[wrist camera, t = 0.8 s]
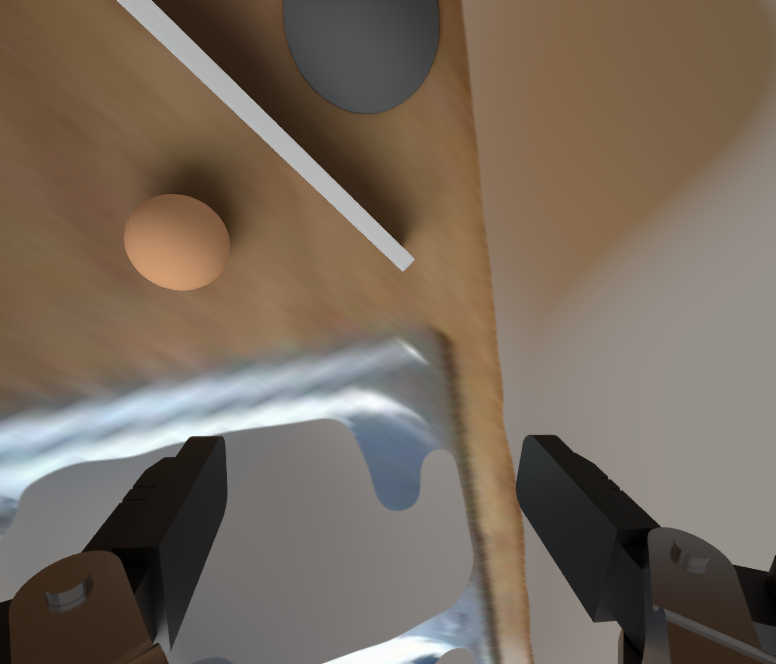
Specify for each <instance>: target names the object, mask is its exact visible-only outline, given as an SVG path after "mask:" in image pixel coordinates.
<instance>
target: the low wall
mask: <svg viewBox="0 0 776 664" xmlns="http://www.w3.org/2000/svg"><path fill="white" fill-rule="evenodd" d="M117 1H118V2H119V3H120V4H121V5H122V6H123V7H124V8H125V9H126V10H127V11H129V12H130V13H131V14H132V15H133V16H134V17H135V18H136V19H137V20H138V21H139V22H140V23H141V24H142V25H143V26H144V27H145V28H146V29H148V30H149V31H150V32H151V33H152V34H153V35H154V36H155V37H156V38H157V39H158V40H159V41H160V42H161V43H162V44H163V45H164V46H165V47H166V48H168V49H169V50H170V51H171V52H172V53H173V54H174V55H175V56H176V57H177V58H178V59H179V60H180V61H181V62H182V63H183V64H184V65H185V66H187V67H188V68H189V69H190V70H191V71H192V72H193V73H194V74H195V75H196V76H197V77H198V78H199V79H200V80H201V81H202V82H203V83H204V84H205V85H207V86H208V87H209V88H210V89H211V90H212V91H213V92H214V93H215V94H216V95H217V96H218V97H219V98H220V99H221V100H222V101H223V102H224V103H226V104H227V105H228V106H229V107H230V108H231V109H232V110H233V111H234V112H235V113H236V114H237V115H238V116H239V117H240V118H241V119H242V120H243V121H245V122H246V123H247V124H248V125H249V126H250V127H251V128H252V129H253V130H254V131H255V132H256V133H257V134H258V135H259V136H260V137H261V138H262V139H263V140H265V141H266V142H267V143H268V144H269V145H270V146H271V147H272V148H273V149H274V150H275V151H276V152H277V153H278V154H279V155H280V156H281V157H282V158H284V159H285V160H286V161H287V162H288V163H289V164H290V165H291V166H292V167H293V168H294V169H295V170H296V171H297V172H298V173H299V174H300V175H301V176H303V177H304V178H305V179H306V180H307V181H308V182H309V183H310V184H311V185H312V186H313V187H314V188H315V189H316V190H317V191H318V192H319V193H320V194H321V195H323V196H324V197H325V198H326V199H327V200H328V201H329V202H330V203H331V204H332V205H333V206H334V207H335V208H336V209H337V210H338V211H339V212H340V213H342V214H343V215H344V216H345V217H346V218H347V219H348V220H349V221H350V222H351V223H352V224H353V225H354V226H355V227H356V228H357V229H358V230H359V231H360V232H362V233H363V234H364V235H365V236H366V237H367V238H368V239H369V240H370V241H371V242H372V243H373V244H374V245H375V246H376V247H377V248H378V249H379V250H381V251H382V252H383V253H384V254H385V255H386V256H387V257H388V258H389V259H390V260H391V261H392V262H393V263H394V264H395V265H396V266H397V267H398V268H400V269H401V270H402V271H404V270H405V269H406V268H407V267H408V266H409V265H410V264H411V263H412V262H413V260H414V258H413V257H412V256H411V255H410V254H409V253H408V252H407V251H406V250H405V249H404V248H403V247H402V246H401V245H400V244H399V243H398V242H397V241H396V240H395V239H394V238H393V237H392V236H391V235H390V234H389V233H388V232H387V231H385V230H384V229H383V228H382V227H381V226H380V225H379V224H378V223H377V222H376V221H375V220H374V219H373V218H372V217H371V216H370V215H369V214H368V213H367V212H366V211H365V210H364V209H363V208H362V207H361V206H360V205H359V204H358V203H357V202H356V201H355V200H354V199H353V198H352V197H351V196H350V195H349V194H348V193H347V192H346V191H345V190H344V189H343V188H342V187H341V186H340V185H339V184H338V183H337V182H336V181H335V180H334V179H333V178H332V177H331V176H330V175H329V174H328V173H327V172H326V171H324V170H323V169H322V168H321V167H320V166H319V165H318V164H317V163H316V162H315V161H314V160H313V159H312V158H311V157H310V156H309V155H308V154H307V153H306V152H305V151H304V150H303V149H302V148H301V147H300V146H299V145H298V144H297V143H296V142H295V141H294V140H293V139H292V138H291V137H290V136H289V135H288V134H287V133H286V132H285V131H284V130H283V129H282V128H281V127H280V126H279V125H278V124H277V123H276V122H275V121H274V120H273V119H272V118H271V117H270V116H269V115H268V114H267V113H266V112H265V111H263V110H262V109H261V108H260V107H259V106H258V105H257V104H256V103H255V102H254V101H253V100H252V99H251V98H250V97H249V96H248V95H247V94H246V93H245V92H244V91H243V90H242V89H241V88H240V87H239V86H238V85H237V84H236V83H235V82H234V81H233V80H232V79H231V78H230V77H229V76H228V75H227V74H226V73H225V72H224V71H223V70H222V69H221V68H220V67H219V66H218V65H217V64H216V63H215V62H214V61H213V60H212V59H211V58H210V57H209V56H208V55H207V54H206V53H205V52H204V51H203V50H201V49H200V48H199V47H198V46H197V45H196V44H195V43H194V42H193V41H192V40H191V39H190V38H189V37H188V36H187V35H186V34H185V33H184V32H183V31H182V30H181V29H180V28H179V27H178V26H177V25H176V24H175V23H174V22H173V21H172V20H171V19H170V18H169V17H168V16H167V15H166V14H165V13H164V12H163V11H162V10H161V9H160V8H159V7H158V6H157V5H156V4H155V3H154V2H153V1H152V0H117Z"/></svg>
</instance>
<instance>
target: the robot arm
mask: <svg viewBox="0 0 776 664" xmlns="http://www.w3.org/2000/svg"><path fill="white" fill-rule="evenodd" d="M226 470H227V469H226V450H225V440H224V438H223V437H222V436H192V437H190V438H189V439H188V440H187V441H186V443H185V444H184V446H183V447H182V449H181V450H180V451H179V453H178V454H177V456H176V457H165V458H163V459H161V460H160V461H159V462H157V463H156V464H154V465H153V466H151V467H150V468H148V469H147V470H145V472H144V473H143V474H142V475H141V477H140V478H139V479H138V480H137V482H136V483H135V484H134V485H133V489H131V490H130V491H129V492H128V493H127V494H126V496H125V497H124V498H123V501H122V503H119V505H118V506H117V507H116V509H115V510H114V511H113V512H112V514H111V515H110V516H109V517H108V519H107V520H106V521H105V523H104V524H103V525H102V526H101V528H100V529H99V530H98V532H97V533H96V534H95V535H94V537H93V538H92V540H91V541H90V542H89V543H88V544H87V546H86V547H85V548H84V550H83V551H82V552H81V553H79V554H75V555H72V556H69V557H67V558H63V559H61V560H59V561H57V562H55V563H53V564H51V565H49V566H48V567H46V568H45V569H43V570H41V571H40V572H38V573H37V574H36V575H34V576H33V577H32V578H31V579H29V580H28V581H27V582H26V583H25V584H24V585H23V586H22V587H21V588H20V590H19V591H18V592H17V593H16V595H15V596H14V598H13V599H11V600H8V601H4V602H1V603H0V664H169V663H168V661H167V658H166V656H165V653H164V652H171V649H172V646H173V644H174V641H175V639H176V636H177V634H178V631H179V629H180V626H181V624H182V621H183V619H184V616H185V613H186V611H187V608H188V606H189V603H190V601H191V598H192V596H193V593H194V591H195V588H196V585H197V583H198V580H199V578H200V575H201V572H202V570H203V567H204V565H205V562H206V560H207V557H208V555H209V552H210V550H211V547H212V544H213V542H214V539H215V537H216V534H217V532H218V529H219V527H220V524H221V522H222V519H223V516H224V513H225V509H226V503H227V471H226ZM516 495H517V500H518V503H519V505H520V507H521V509H522V511H523V512H524V514H525V516H526V517H527V518H528V520H529V522H530V523H531V525H532V527H533V528H534V530H535V531H536V533H537V534H538V536H539V537H540V539H541V541H542V542H543V544H544V545H545V547H546V549H547V550H548V552H549V553H550V555H551V556H552V558H553V559H554V561H555V563H556V564H557V566H558V567H559V569H560V570H561V572H562V574H563V575H564V577H565V578H566V580H567V581H568V583H569V585H570V586H571V588H572V589H573V591H574V592H575V594H576V596H577V597H578V599H579V600H580V602H581V603H582V605H583V607H584V608H585V610H586V611H587V613H588V614H589V616H590V618H591V619H592V621H593V622H606V621H617V622H618V624H619V625H620V627H621V628H622V629H621V632H620V636H619V641H618V664H776V555H775V557H774V560H773V563H772V565H771V568H770V570H769V572H766V571H761V570H756V569H752V568H747V567H741V566H736V565H732V563H731V562H730V561H729V560H728V558H727V557H726V556H725V555H724V554H722V553H721V552H720V551H719V550H718V549H716V548H715V547H714V546H712V545H711V544H709V543H708V542H706V541H704V540H703V539H701V538H699V537H696V536H695V535H692V534H690V533H687V532H685V531H681V530H678V529H674V528H665V527H661V526H660V525H659V524H658V523H656V522H655V521H654V520H653V519H652V518H651V517H650V516H649V515H648V514H647V513H646V512H645V511H644V510H643V509H642V508H641V507H639V506H638V505H637V504H636V503H635V502H634V501H633V500H632V499H631V498H630V497H629V496H628V495H627V494H626V493H625V492H623V491H620V488H619V487H618V486H617V485H616V484H615V483H614V482H613V481H612V480H611V479H610V480H609V479H608V476H607V475H606V474H604V473H603V472H602V471H601V470H600V469H599V468H598V467H597V466H596V465H595V464H594V463H592V462H590V461H589V460H587V459H585V458H584V457H582V456H580V455H578V454H577V453H574V452H573V451H572V450H571V449H570V448H569V447H568V446H567V445H566V444H565V443H564V442H563V441H562V440H561V439H560V438H559V437H557V436H556V435H528V436H526V437H525V439H524V441H523V446H522V452H521V458H520V463H519V469H518V475H517V481H516Z"/></svg>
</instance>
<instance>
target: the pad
mask: <svg viewBox="0 0 776 664" xmlns="http://www.w3.org/2000/svg"><path fill="white" fill-rule="evenodd" d="M283 10H284V25H285V32H286V37H287V41H288V45H289V48H290V51H291V53H292V56H293V59H294V61H295V63H296V65H297V67H298V69H299V70H300V72H301V73H302V75H303V76H304V78H305V79H306V81H307V82H308V83H309V84H310V86H311V87H312V88H313V89H314V90H315V91H316V92H317V93H318V94H319V95H320V96H322V97H323V98H324V99H326V100H327V101H328V102H330V103H332V104H333V105H335V106H337V107H339V108H341V109H344V110H346V111H350V112H354V113H361V114H373V113H379V112H384V111H387V110H389V109H392V108H394V107H396V106H398V105H399V104H401V103H403V102H404V101H405V100H407V99H408V98H409V97H410V96H411V95H412V94H413V93H414V92H415V91H416V90H417V89H418V88H419V86H420V85H421V84H422V82H423V81H424V79H425V77H426V76H427V74H428V72H429V70H430V68H431V65H432V63H433V60H434V57H435V53H436V49H437V43H438V35H439V14H438V6H437V1H436V0H284V6H283Z"/></svg>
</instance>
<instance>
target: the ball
mask: <svg viewBox="0 0 776 664" xmlns="http://www.w3.org/2000/svg"><path fill="white" fill-rule="evenodd" d="M124 243H125V249H126V252H127V255H128V257H129V259H130V261H131V262H132V264H133V265H134V267H135V268H136V269H137V270H138V271H139V272H140V273H141V274H142V275H143V276H144V277H145V278H147V279H148V280H150V281H151V282H153V283H155V284H157V285H159V286H162V287H165V288H168V289H173V290H193V289H197V288H200V287H203V286H205V285H207V284H209V283H211V282H212V281H214V280H215V279H216V278H217V277H218V276H219V275H220V274H221V273H222V272H223V270H224V269H225V267H226V265H227V263H228V260H229V256H230V238H229V234H228V231H227V229H226V227H225V225H224V223H223V221H222V220H221V218H220V217H219V216H218V215H217V214H216V212H214V211H213V210H212V209H211V208H210V207H209V206H207V205H206V204H204V203H203V202H201V201H199V200H197V199H194V198H192V197H189V196H185V195H179V194H164V195H159V196H155V197H153V198H150V199H148V200H146V201H144V202H143V203H141V204H140V205H139V206H138V207H137V208H136V209H135V210H134V211H133V212H132V214H131V215H130V217H129V218H128V221H127V223H126V227H125V232H124Z"/></svg>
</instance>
